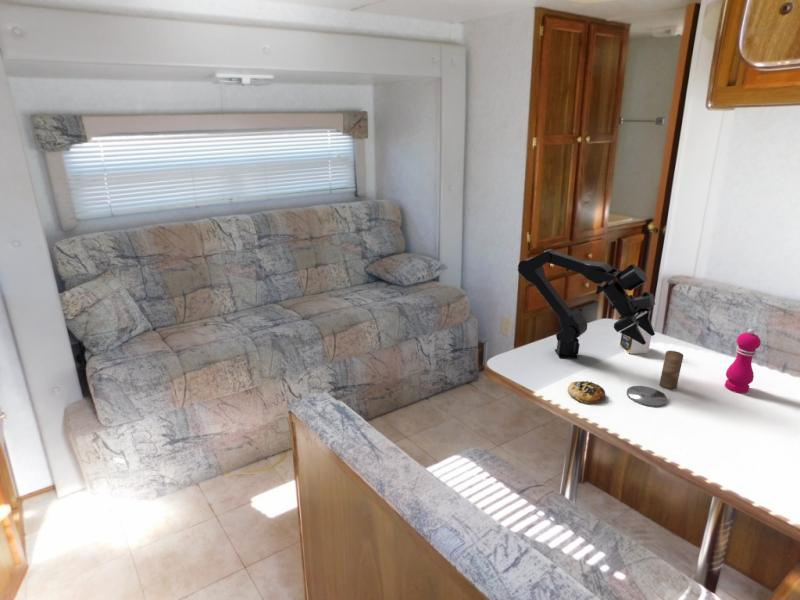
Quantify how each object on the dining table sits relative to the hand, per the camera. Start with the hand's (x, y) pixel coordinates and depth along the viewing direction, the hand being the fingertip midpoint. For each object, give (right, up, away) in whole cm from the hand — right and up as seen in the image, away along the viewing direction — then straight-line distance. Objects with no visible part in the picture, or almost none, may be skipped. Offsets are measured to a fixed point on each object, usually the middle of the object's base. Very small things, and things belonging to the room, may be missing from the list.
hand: (649, 339), depth 165 cm
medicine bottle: (+6, -6, +25) cm, 27 cm away
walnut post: (+6, -14, 0) cm, 16 cm away
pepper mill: (+27, -15, -1) cm, 31 cm away
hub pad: (-4, -17, -7) cm, 19 cm away
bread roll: (-22, -17, -7) cm, 29 cm away
